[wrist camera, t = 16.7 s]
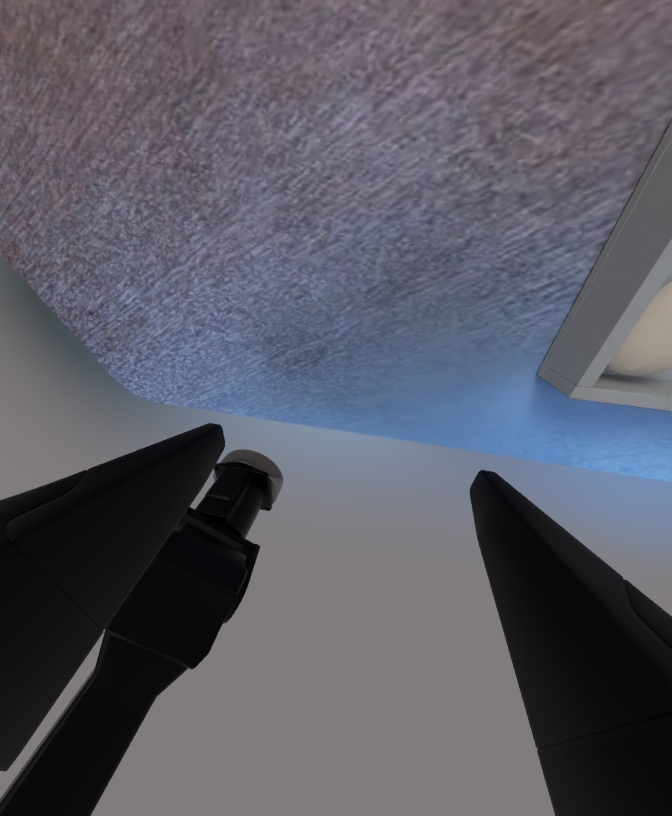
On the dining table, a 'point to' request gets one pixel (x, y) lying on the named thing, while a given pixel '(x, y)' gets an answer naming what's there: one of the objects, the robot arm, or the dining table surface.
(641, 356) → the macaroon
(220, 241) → the dining table surface
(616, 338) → the tray
